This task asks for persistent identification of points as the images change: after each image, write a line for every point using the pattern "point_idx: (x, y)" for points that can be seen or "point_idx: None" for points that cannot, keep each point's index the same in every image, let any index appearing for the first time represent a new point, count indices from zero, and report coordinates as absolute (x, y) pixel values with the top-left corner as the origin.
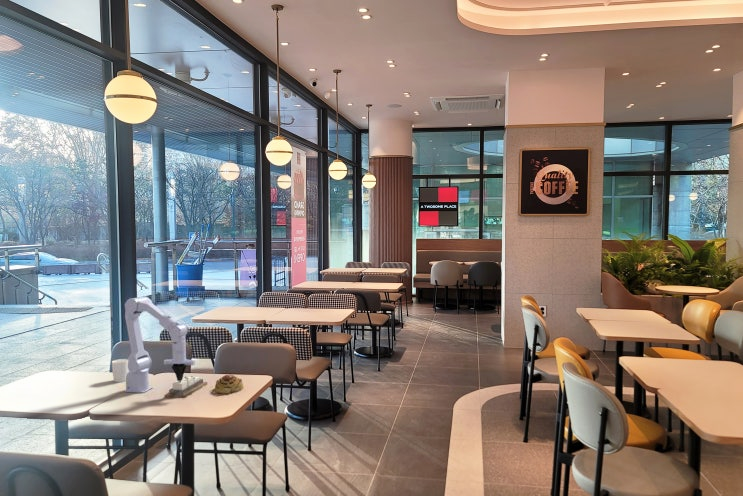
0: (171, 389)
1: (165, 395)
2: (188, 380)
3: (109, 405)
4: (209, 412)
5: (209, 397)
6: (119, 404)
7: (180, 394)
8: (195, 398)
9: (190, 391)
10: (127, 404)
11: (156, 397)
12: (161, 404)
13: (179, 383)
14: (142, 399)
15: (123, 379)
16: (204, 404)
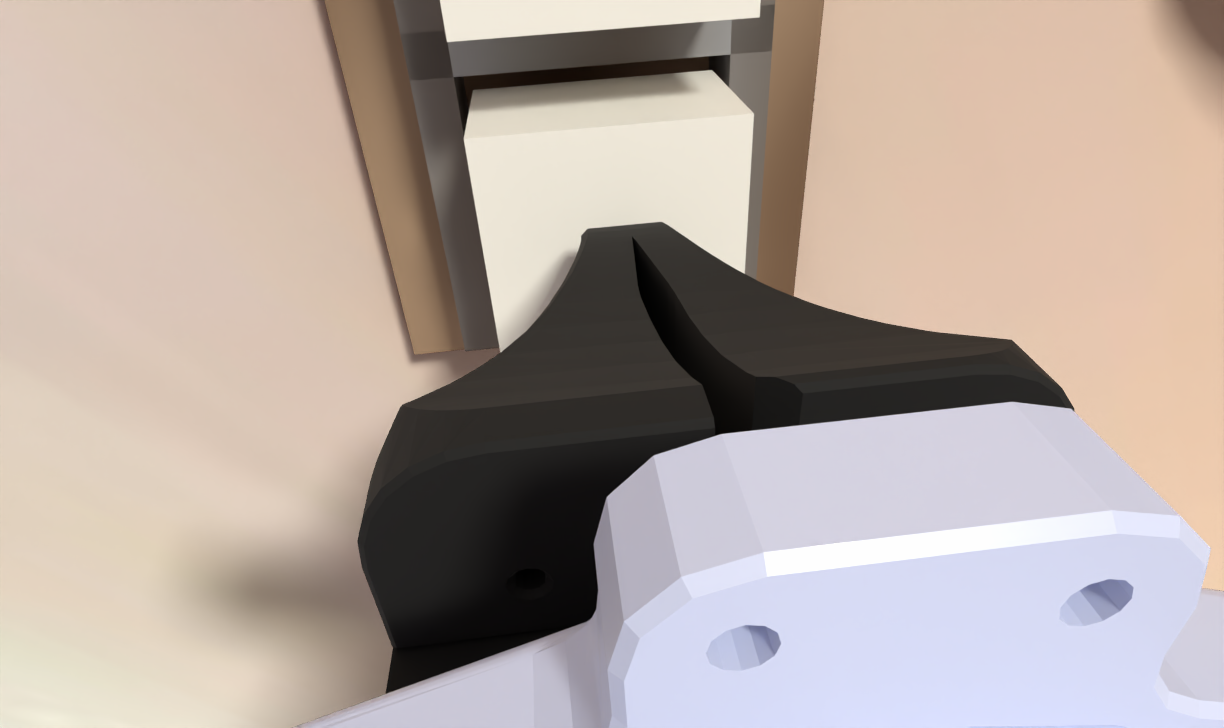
0: (487, 316)
1: (432, 345)
2: (751, 14)
3: (30, 708)
4: (1209, 587)
5: (1171, 195)
6: (105, 667)
7: None
8: (955, 286)
9: (788, 88)
10: (199, 647)
11: (313, 386)
12: None
13: None
14: (191, 495)
15: None
16: (1132, 444)
